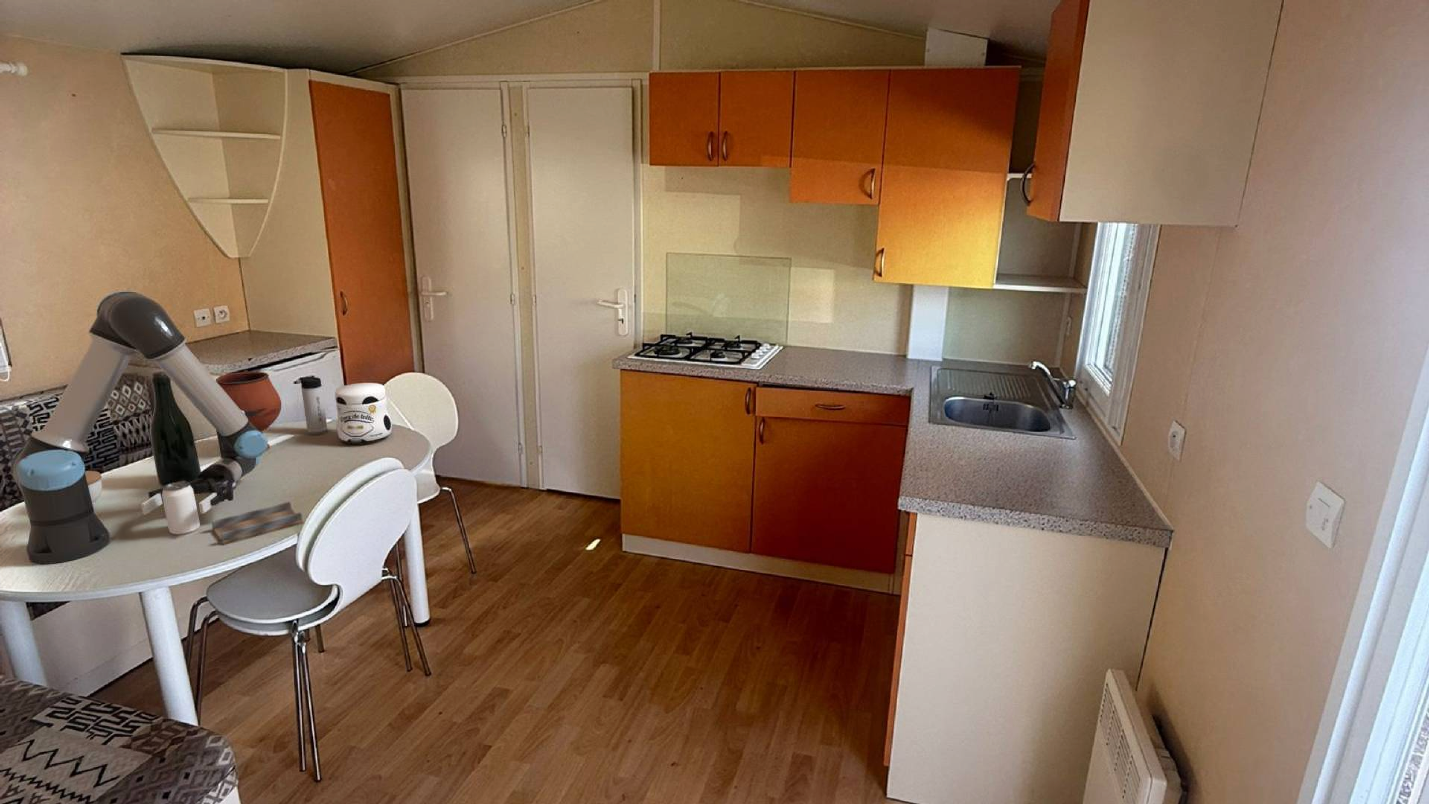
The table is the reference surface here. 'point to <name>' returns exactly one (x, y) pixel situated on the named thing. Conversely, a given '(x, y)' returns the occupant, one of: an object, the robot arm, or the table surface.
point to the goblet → (253, 397)
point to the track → (256, 523)
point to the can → (180, 508)
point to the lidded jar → (94, 484)
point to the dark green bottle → (171, 436)
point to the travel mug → (314, 405)
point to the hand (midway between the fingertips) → (172, 508)
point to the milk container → (362, 413)
